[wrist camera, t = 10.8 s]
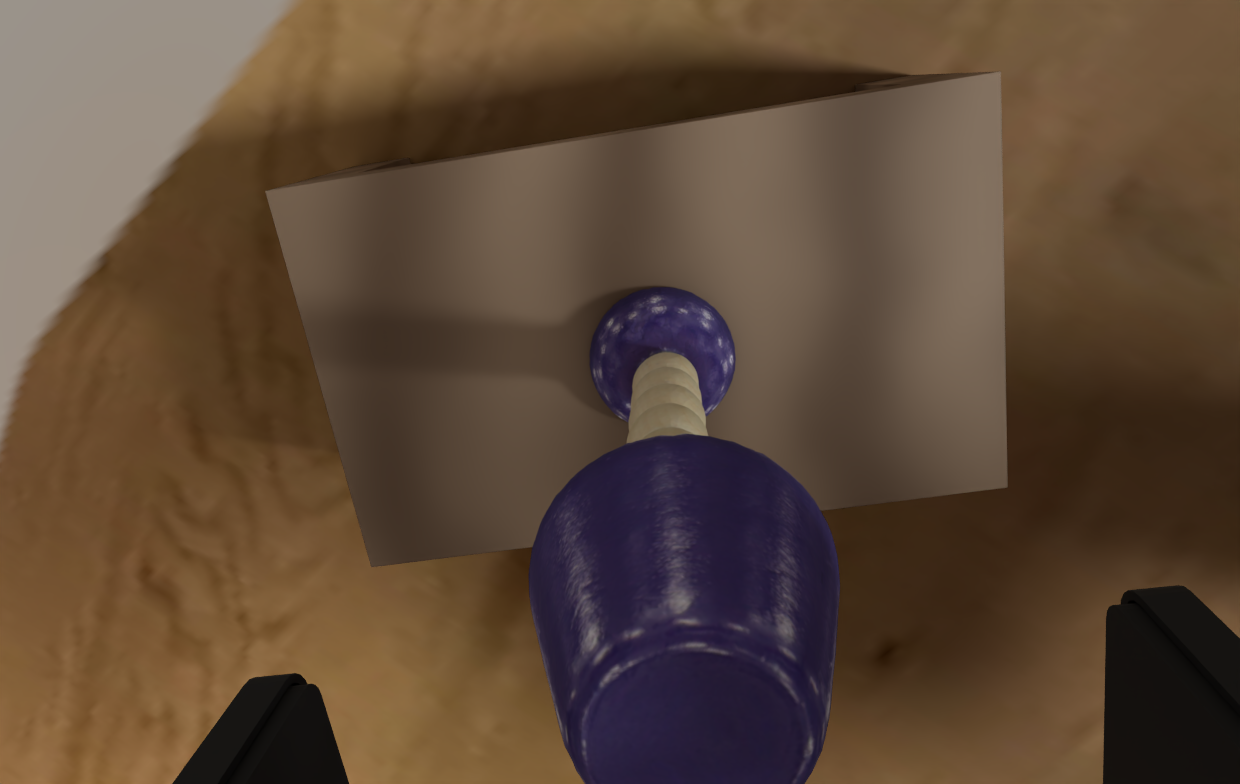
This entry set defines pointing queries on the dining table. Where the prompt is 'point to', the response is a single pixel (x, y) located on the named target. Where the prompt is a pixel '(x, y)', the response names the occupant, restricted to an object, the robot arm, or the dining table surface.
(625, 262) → the walnut shelf
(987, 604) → the dining table surface
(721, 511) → the toy lamp
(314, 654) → the dining table surface
